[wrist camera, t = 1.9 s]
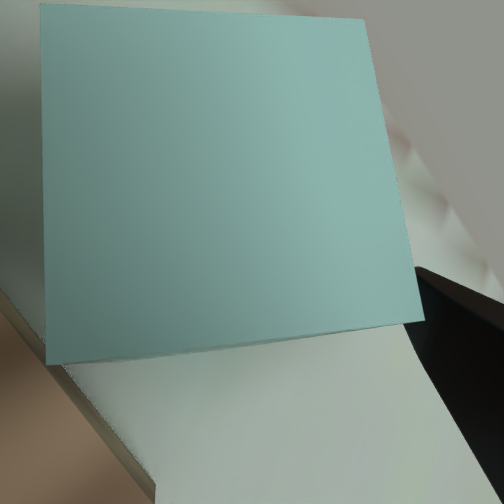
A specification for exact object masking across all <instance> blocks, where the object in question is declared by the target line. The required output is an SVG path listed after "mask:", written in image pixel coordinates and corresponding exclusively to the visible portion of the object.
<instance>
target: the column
mask: <svg viewBox="0 0 504 504" xmlns="http://www.w3.org/2000/svg"><path fill="white" fill-rule="evenodd" d="M40 47H41V107H42V166H43V226H44V285H45V345H46V365H63V364H80V363H96V362H113V361H129V360H137V359H146V358H154V357H162V356H170V355H179V354H187V353H195V352H203V351H212V350H220V349H228V348H236V347H244V346H252V345H259V344H266V343H273V342H280V341H287V340H294V339H300V338H307V337H314V336H321V335H328V334H335V333H342V332H349V331H356V330H362V329H369V328H376V327H383V326H390V325H397V324H404V323H411V322H417V321H424V320H425V318H424V313H423V308H422V303H421V298H420V293H419V289H418V284H417V279H416V274H415V269H414V264H413V259H412V254H411V249H410V244H409V239H408V234H407V229H406V225H405V220H404V215H403V210H402V205H401V200H400V195H399V190H398V185H397V180H396V175H395V170H394V165H393V161H392V156H391V151H390V146H389V141H388V136H387V131H386V126H385V121H384V116H383V111H382V106H381V101H380V97H379V92H378V87H377V82H376V77H375V72H374V68H373V62H372V57H371V53H370V47H369V43H368V38H367V33H366V28H365V23H364V19H347V18H327V17H307V16H287V15H267V14H247V13H227V12H207V11H187V10H167V9H147V8H127V7H107V6H87V5H67V4H47V3H40Z"/></svg>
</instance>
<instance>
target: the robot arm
mask: <svg viewBox="0 0 504 504" xmlns="http://www.w3.org/2000/svg"><path fill="white" fill-rule="evenodd" d="M414 269H415V274H416V279H417V284H418V289H419V293H420V298H421V303H422V308H423V313H424V318H425V320H424V321H417V322H411V323H404V324H403V325H404V327H405V330H406V332H407V334H408V336H409V339H410V341H411V343H412V345H413V348H414V350H415V352H416V354H417V356H418V358H419V360H420V362H421V364H422V365H423V367H424V369H425V371H426V372H427V374H428V376H429V378H430V379H431V381H432V383H433V385H434V386H435V388H436V390H437V392H438V393H439V395H440V397H441V398H442V400H443V402H444V404H445V405H446V407H447V409H448V411H449V412H450V414H451V416H452V417H453V419H454V421H455V423H456V424H457V426H458V428H459V430H460V431H461V433H462V435H463V437H464V438H465V440H466V442H467V443H468V445H469V447H470V449H471V450H472V452H473V454H474V456H475V457H476V459H477V461H478V463H479V464H480V466H481V468H482V469H483V471H484V473H485V475H486V476H487V478H488V480H489V482H490V483H491V485H492V487H493V488H494V490H495V492H496V494H497V495H498V497H499V499H500V501H501V502H502V504H504V304H503V303H500V302H498V301H496V300H494V299H492V298H489V297H487V296H485V295H483V294H480V293H478V292H476V291H474V290H472V289H469V288H467V287H465V286H463V285H460V284H458V283H456V282H454V281H452V280H449V279H447V278H445V277H443V276H440V275H438V274H436V273H434V272H431V271H429V270H427V269H425V268H423V267H419V266H417V267H414Z"/></svg>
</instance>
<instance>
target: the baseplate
mask: <svg viewBox="0 0 504 504" xmlns="http://www.w3.org/2000/svg"><path fill="white" fill-rule="evenodd" d="M155 488H156V484H155V483H154V482H153V481H152V479H151V478H150V477H149V476H148V474H147V473H146V472H145V471H144V469H143V468H142V467H141V465H140V464H139V463H138V462H137V460H136V459H135V458H134V457H133V455H132V454H131V453H130V452H129V450H128V449H127V448H126V447H125V445H124V444H123V443H122V442H121V440H120V439H119V438H118V437H117V435H116V434H115V433H114V431H113V430H112V429H111V428H110V426H109V425H108V424H107V423H106V421H105V420H104V419H103V418H102V416H101V415H100V414H99V413H98V411H97V410H96V409H95V408H94V406H93V405H92V404H91V403H90V401H89V400H88V399H87V398H86V396H85V395H84V394H83V392H82V391H81V390H80V389H79V387H78V386H77V385H76V384H75V382H74V381H73V380H72V379H71V377H70V376H69V375H68V374H67V372H66V371H65V370H64V369H63V367H62V366H61V365H46V346H45V345H44V343H43V342H42V341H41V340H40V338H39V337H38V336H37V335H36V333H35V332H34V331H33V330H32V328H31V327H30V326H29V325H28V323H27V322H26V321H25V319H24V318H23V317H22V316H21V314H20V313H19V312H18V311H17V309H16V308H15V307H14V306H13V304H12V303H11V302H10V301H9V299H8V298H7V297H6V296H5V294H4V293H3V292H2V291H1V289H0V504H155Z"/></svg>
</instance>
